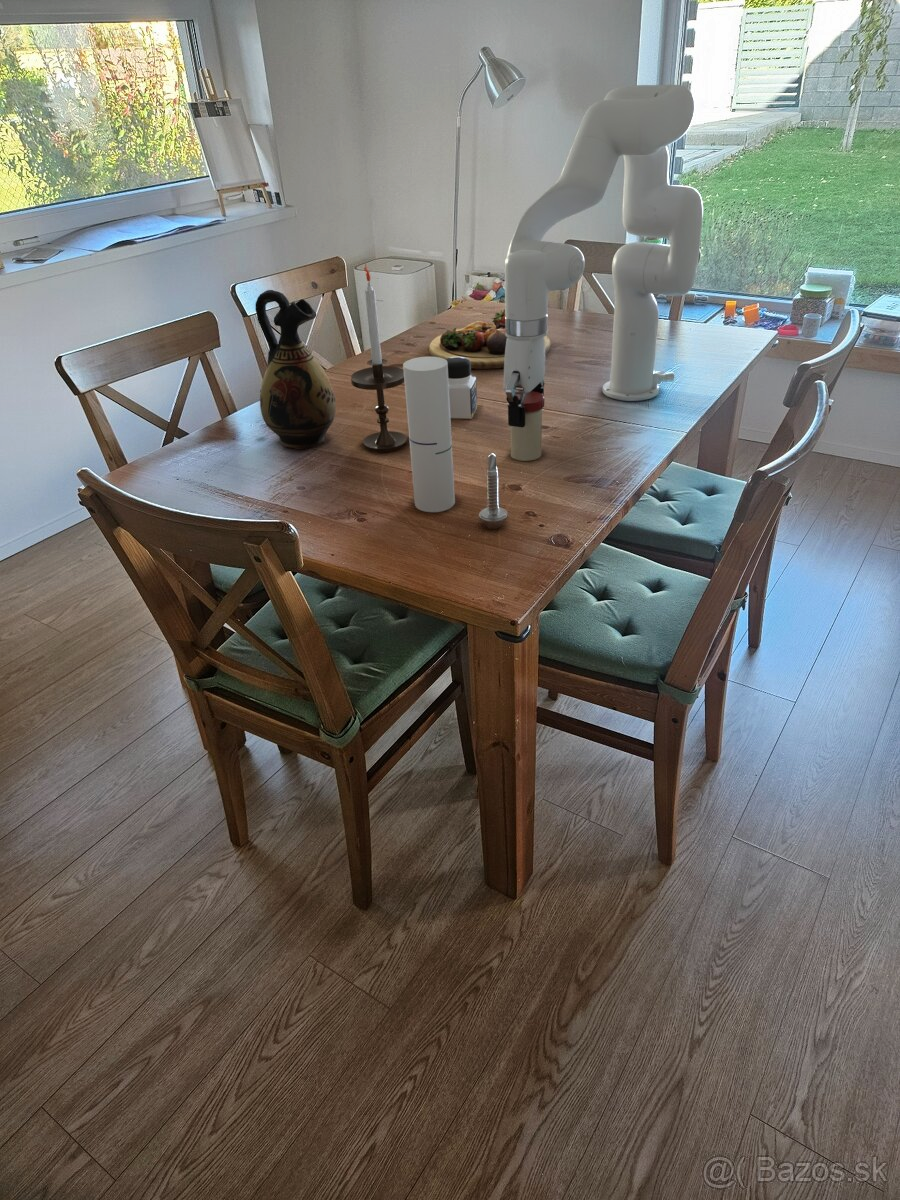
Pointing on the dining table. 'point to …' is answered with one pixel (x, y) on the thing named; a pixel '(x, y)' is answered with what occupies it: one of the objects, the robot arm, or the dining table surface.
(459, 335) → the wooden plate
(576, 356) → the dining table surface
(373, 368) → the candlestick
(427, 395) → the cylindrical container
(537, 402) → the lid
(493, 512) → the screw
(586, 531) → the dining table surface
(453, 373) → the medicine bottle
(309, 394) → the ceramic jug
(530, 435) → the jar
